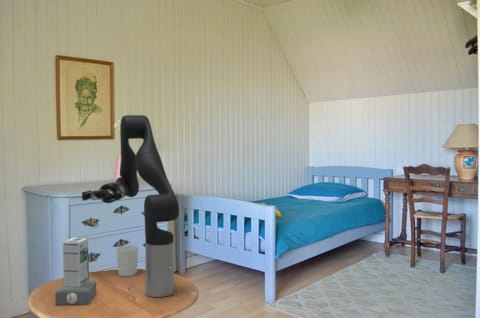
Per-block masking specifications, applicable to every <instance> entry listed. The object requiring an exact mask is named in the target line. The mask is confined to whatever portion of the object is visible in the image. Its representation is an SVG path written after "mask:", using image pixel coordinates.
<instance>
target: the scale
mask: <svg viewBox="0 0 480 318" xmlns="http://www.w3.org/2000/svg"><path fill="white" fill-rule="evenodd" d="M62 286H63V284H61V286H60V287H59V288H58V289H57V290H55V292H54V293H55V295H54V297H55V306H67V305H69V306H72V305H73V306H74V305H77V306H78V305H80V306H81V305H90V303H91V301H92V300H93V298H94V297H95V295H96V294H97V280H92V283H91V285H90V286H89V287H88V289H87V290H86V291H60V288H61V287H62Z"/></svg>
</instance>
